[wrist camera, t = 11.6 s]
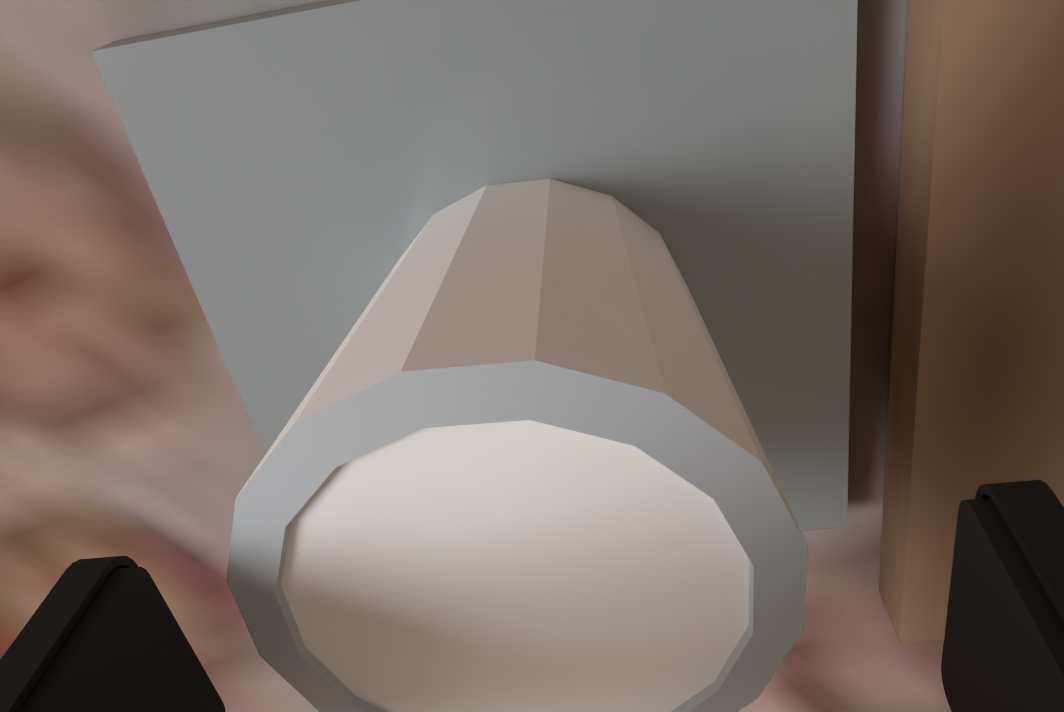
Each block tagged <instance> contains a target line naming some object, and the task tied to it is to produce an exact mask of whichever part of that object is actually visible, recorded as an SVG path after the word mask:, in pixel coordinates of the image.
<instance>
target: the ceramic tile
mask: <svg viewBox="0 0 1064 712" xmlns="http://www.w3.org/2000/svg"><path fill="white" fill-rule="evenodd" d="M857 7H858V0H328V1H323V2H317V3H312V4H307V5H302V6H296V7H291V8H286V9H281V10H275V11H270V12H265V13H260V14H254V15H249V16H244V17H239V18H233V19H228V20H223V21H218V22H213V23H207V24H202V25H197V26H192V27H186V28H181V29H176V30H171V31H165V32H160V33H155V34H150V35H144V36H139V37H134V38H129V39H123V40H118V41H114V42H111V43H109V44H107V45H105V46H102V47H100V48H98V49H95V50H93V51H91V52H92V55H93V57H94V59H95V62H96V64H97V66H98V69H99V71H100V73H101V76H102V78H103V80H104V82H105V85H106V87H107V89H108V92H109V94H110V96H111V99H112V101H113V103H114V106H115V108H116V110H117V113H118V115H119V117H120V120H121V122H122V124H123V127H124V129H125V131H126V134H127V136H128V138H129V140H130V143H131V145H132V147H133V150H134V152H135V154H136V157H137V159H138V161H139V164H140V166H141V168H142V171H143V173H144V175H145V178H146V180H147V182H148V185H149V187H150V189H151V191H152V194H153V196H154V198H155V201H156V203H157V205H158V208H159V210H160V212H161V215H162V217H163V219H164V222H165V224H166V226H167V229H168V231H169V233H170V236H171V238H172V240H173V243H174V245H175V247H176V249H177V252H178V254H179V256H180V259H181V261H182V263H183V266H184V268H185V270H186V273H187V275H188V277H189V280H190V282H191V284H192V287H193V289H194V291H195V294H196V296H197V298H198V301H199V303H200V305H201V307H202V310H203V312H204V314H205V317H206V319H207V321H208V324H209V326H210V328H211V331H212V333H213V335H214V338H215V340H216V342H217V345H218V347H219V349H220V352H221V354H222V356H223V359H224V361H225V363H226V365H227V368H228V370H229V372H230V375H231V377H232V379H233V382H234V384H235V386H236V389H237V391H238V393H239V396H240V398H241V400H242V403H243V405H244V407H245V410H246V412H247V414H248V417H249V419H250V421H251V423H252V426H253V428H254V430H255V433H256V435H257V437H258V440H259V442H260V444H261V447H262V449H263V451H264V454H265V455H266V453H267V452H268V450H269V449H270V448H271V446H272V445H273V443H274V442H275V440H276V439H277V437H278V436H279V434H280V433H281V431H282V430H283V429H284V427H285V426H286V424H287V423H288V421H289V420H290V418H291V417H292V415H293V414H294V412H295V411H296V410H297V408H298V407H299V405H300V404H301V402H302V401H303V399H304V398H305V396H306V395H307V393H308V392H309V390H310V389H311V388H312V386H313V385H314V383H315V382H316V380H317V379H318V377H319V376H320V374H321V373H322V371H323V370H324V369H325V367H326V366H327V364H328V363H329V361H330V360H331V358H332V357H333V355H334V354H335V352H336V351H337V350H338V348H339V347H340V345H341V344H342V342H343V341H344V339H345V338H346V336H347V335H348V333H349V332H350V331H351V329H352V328H353V326H354V325H355V323H356V322H357V320H358V319H359V317H360V316H361V314H362V313H363V312H364V310H365V309H366V307H367V306H368V304H369V303H370V301H371V300H372V298H373V297H374V295H375V294H376V293H377V291H378V290H379V288H380V287H381V285H382V284H383V282H384V281H385V279H386V278H387V276H388V275H389V274H390V272H391V271H392V269H393V268H394V266H395V265H396V263H397V262H398V260H399V259H400V258H401V256H402V255H403V254H404V252H405V251H406V250H407V248H408V247H409V246H410V244H411V243H412V242H413V241H414V239H415V238H416V237H417V235H418V234H419V233H420V231H421V230H422V229H423V227H424V226H425V225H426V223H427V222H428V221H429V220H430V218H431V217H432V216H433V214H435V213H437V212H439V211H440V210H442V209H444V208H446V207H448V206H450V205H451V204H453V203H455V202H457V201H459V200H461V199H463V198H464V197H466V196H468V195H470V194H472V193H474V192H475V191H477V190H479V189H481V188H483V187H485V186H486V185H495V184H504V183H513V182H523V181H532V180H541V179H554V180H557V181H561V182H564V183H568V184H572V185H575V186H579V187H582V188H586V189H590V190H593V191H597V192H600V193H604V194H608V195H611V196H613V197H614V198H615V199H617V200H618V201H619V202H620V203H622V204H623V205H624V206H626V207H627V208H628V209H629V210H631V211H632V212H633V213H635V214H636V215H637V216H638V217H640V218H641V219H642V220H644V221H645V222H646V223H647V224H649V225H650V226H651V227H653V228H654V229H655V230H656V231H658V232H659V233H660V235H661V237H662V239H663V241H664V242H665V244H666V246H667V248H668V250H669V252H670V254H671V256H672V258H673V259H674V261H675V263H676V265H677V267H678V269H679V271H680V273H681V275H682V276H683V278H684V280H685V282H686V284H687V286H688V289H689V291H690V293H691V295H692V297H693V299H694V302H695V304H696V306H697V308H698V310H699V312H700V315H701V317H702V319H703V321H704V323H705V325H706V328H707V330H708V332H709V334H710V336H711V338H712V340H713V343H714V345H715V347H716V349H717V351H718V353H719V356H720V358H721V360H722V362H723V364H724V366H725V369H726V371H727V373H728V375H729V377H730V379H731V382H732V384H733V386H734V388H735V390H736V392H737V394H738V397H739V399H740V401H741V403H742V405H743V407H744V410H745V412H746V414H747V416H748V418H749V420H750V423H751V425H752V427H753V429H754V431H755V433H756V436H757V438H758V440H759V442H760V444H761V446H762V449H763V451H764V453H765V455H766V457H767V459H768V461H769V464H770V466H771V468H772V470H773V472H774V474H775V477H776V479H777V481H778V483H779V485H780V487H781V490H782V492H783V494H784V496H785V498H786V500H787V503H788V505H789V507H790V509H791V511H792V513H793V515H794V518H795V520H796V522H797V524H798V526H799V528H800V531H808V530H819V529H829V528H839V527H847V507H848V457H849V407H850V357H851V307H852V257H853V207H854V157H855V107H856V57H857Z"/></svg>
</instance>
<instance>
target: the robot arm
mask: <svg viewBox="0 0 1064 712" xmlns="http://www.w3.org/2000/svg"><path fill="white" fill-rule="evenodd" d="M941 672H942V681H943V686H944V690H945V694H946V697H947V700H948V703H949V706H950V708H951V711H952V712H1064V507H1063V505H1062V504H1061V503H1060V501H1059V500H1058V498H1057V497H1056V495H1055V494H1054V492H1053V491H1052V489H1051V488H1050V487H1049V486H1048V485H1047V484H1046V483H1045V482H1043V481H1041V480H1028V481H1016V482H1004V483H992V484H983V485H980V486H979V488H978V489H977V492H976V496H975V499H970V500H962V501H961V503H960V504H959V509H958V517H957V526H956V535H955V544H954V554H953V563H952V572H951V581H950V590H949V599H948V608H947V618H946V627H945V636H944V645H943V654H942V663H941ZM0 712H225V707H224V704H223V702H222V700H221V698H220V696H219V695H218V693H217V691H216V689H215V688H214V686H213V684H212V682H211V681H210V679H209V677H208V675H207V674H206V672H205V670H204V668H203V667H202V665H201V663H200V661H199V660H198V658H197V656H196V654H195V653H194V651H193V649H192V647H191V646H190V644H189V642H188V641H187V639H186V637H185V635H184V634H183V632H182V630H181V628H180V627H179V625H178V623H177V621H176V620H175V618H174V616H173V614H172V613H171V611H170V609H169V607H168V606H167V604H166V602H165V600H164V599H163V597H162V595H161V593H160V592H159V590H158V588H157V586H156V585H155V583H154V581H153V579H152V578H151V576H150V574H149V573H148V572H147V570H146V569H144V568H142V567H138V565H137V564H136V563H135V562H134V560H133V559H131V558H129V557H127V556H116V557H104V558H92V559H80V560H78V561H76V562H74V563H72V564H71V565H70V566H69V567H68V568H67V569H66V571H65V572H64V573H63V575H62V576H61V577H60V579H59V580H58V582H57V583H56V584H55V586H54V587H53V588H52V590H51V591H50V593H49V594H48V595H47V597H46V598H45V599H44V601H43V602H42V603H41V605H40V606H39V608H38V609H37V610H36V612H35V613H34V614H33V616H32V617H31V619H30V620H29V621H28V623H27V624H26V625H25V627H24V628H23V630H22V631H21V632H20V634H19V635H18V636H17V638H16V639H15V640H14V642H13V643H12V645H11V646H10V647H9V649H8V650H7V651H6V653H5V654H4V656H3V657H2V658H1V660H0Z"/></svg>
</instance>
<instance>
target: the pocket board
mask: <svg viewBox="0 0 1064 712" xmlns="http://www.w3.org/2000/svg"><path fill="white" fill-rule="evenodd" d="M1028 480H1041V481H1043V482H1045V483H1046V484H1047V485H1048V486H1049V487H1050V488H1051V489H1052V491H1053V492H1054V494H1055V495H1056V497H1057V498H1058V500H1059V501H1060V503H1061V504H1062V505H1063V507H1064V0H908V12H907V33H906V53H905V74H904V94H903V115H902V135H901V156H900V176H899V197H898V217H897V238H896V258H895V279H894V299H893V319H892V340H891V360H890V381H889V401H888V422H887V442H886V463H885V483H884V504H883V524H882V545H881V565H880V586H879V593H880V595H881V598H882V600H883V603H884V605H885V608H886V610H887V613H888V615H889V618H890V620H891V623H892V625H893V628H894V630H895V633H896V635H897V638H898V640H899V643H901V642H914V641H926V640H939V639H944V636H945V627H946V618H947V608H948V599H949V590H950V581H951V572H952V563H953V554H954V544H955V535H956V526H957V517H958V509H959V504H960V503H961V501H962V500H970V499H975V496H976V492H977V489H978V488H979V486H980V485H983V484H992V483H1004V482H1016V481H1028Z"/></svg>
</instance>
